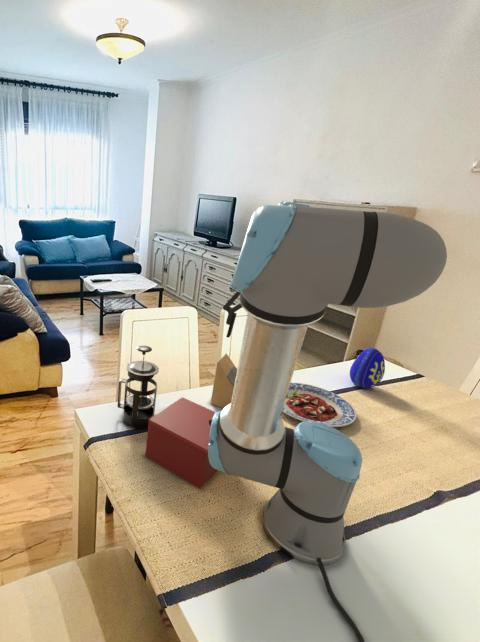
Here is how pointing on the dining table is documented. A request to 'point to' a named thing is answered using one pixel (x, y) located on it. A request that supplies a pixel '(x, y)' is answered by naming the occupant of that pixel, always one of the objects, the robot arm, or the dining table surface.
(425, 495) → the dining table surface
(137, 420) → the french press
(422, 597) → the dining table surface
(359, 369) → the ornament
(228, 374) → the sandwich container
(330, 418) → the ceramic plate
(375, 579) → the dining table surface
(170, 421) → the box lid
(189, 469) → the red hinged lid box
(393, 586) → the dining table surface
